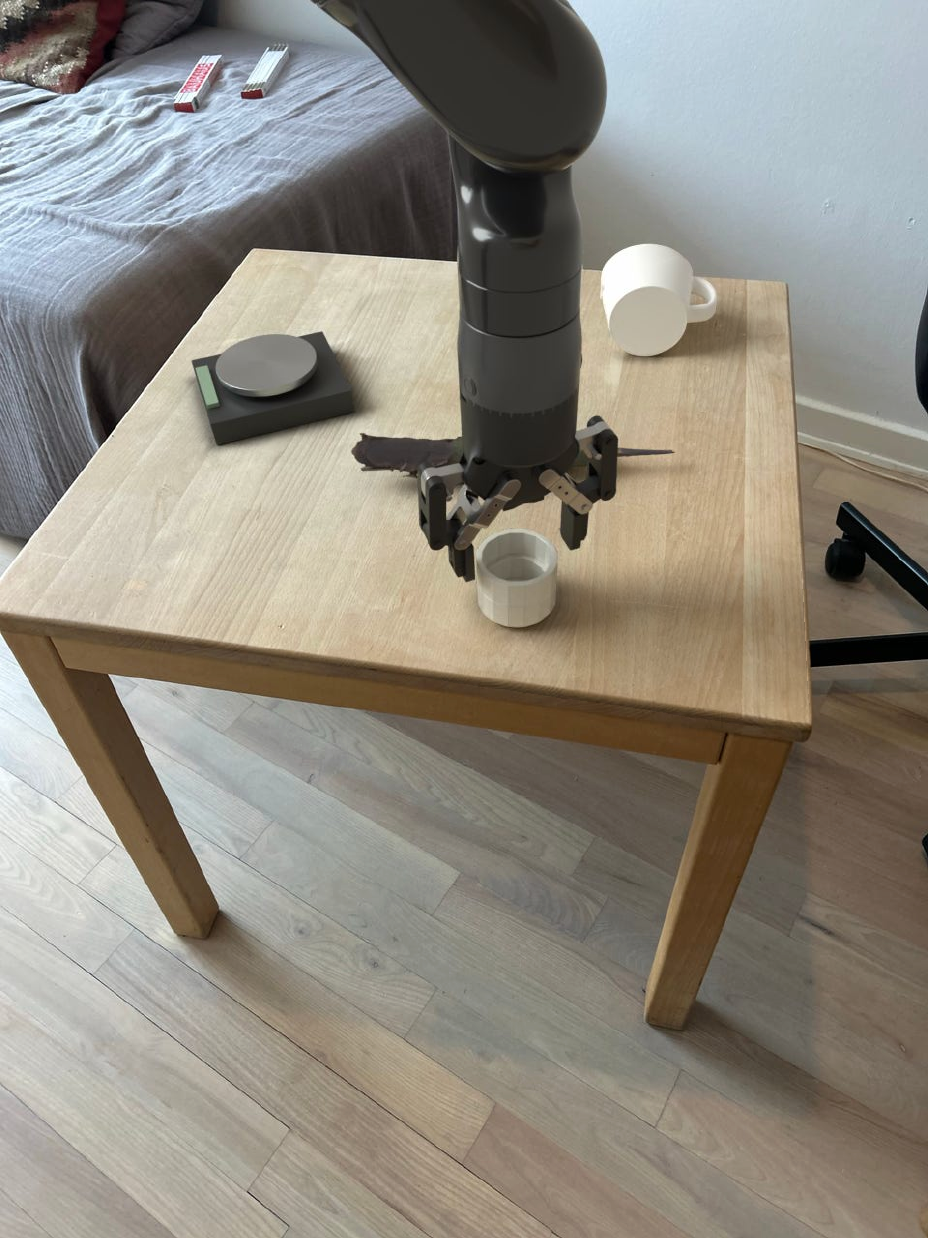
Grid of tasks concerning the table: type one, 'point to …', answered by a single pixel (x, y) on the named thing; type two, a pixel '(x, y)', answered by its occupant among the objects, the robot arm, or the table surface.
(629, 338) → the mug
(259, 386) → the pan
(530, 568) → the white cup
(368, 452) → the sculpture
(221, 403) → the scale
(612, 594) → the table surface
